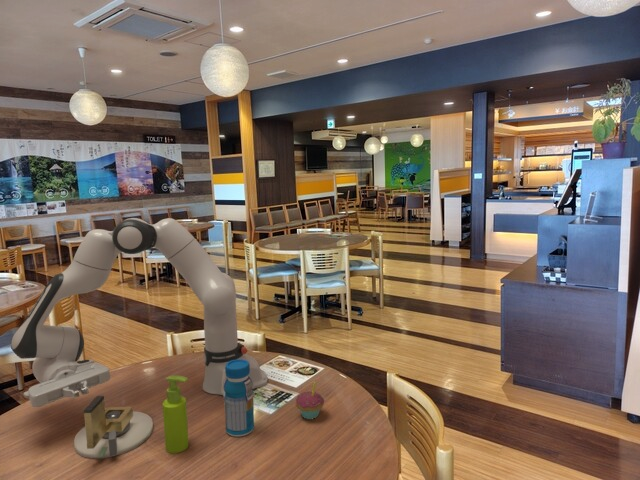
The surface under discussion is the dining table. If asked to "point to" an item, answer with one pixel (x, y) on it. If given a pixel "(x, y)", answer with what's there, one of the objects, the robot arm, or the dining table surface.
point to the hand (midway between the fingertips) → (81, 393)
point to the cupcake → (309, 403)
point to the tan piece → (103, 420)
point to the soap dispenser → (175, 417)
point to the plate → (117, 439)
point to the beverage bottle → (238, 398)
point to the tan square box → (115, 416)
